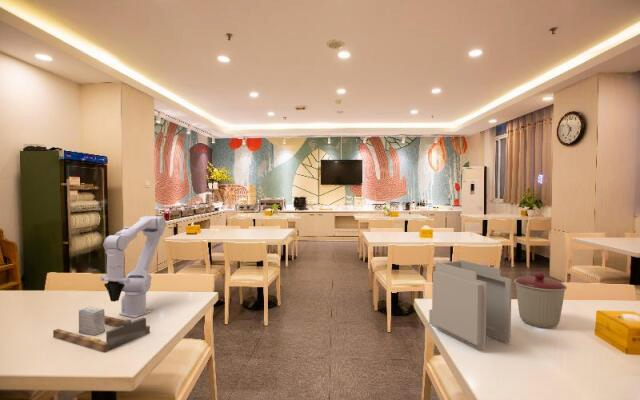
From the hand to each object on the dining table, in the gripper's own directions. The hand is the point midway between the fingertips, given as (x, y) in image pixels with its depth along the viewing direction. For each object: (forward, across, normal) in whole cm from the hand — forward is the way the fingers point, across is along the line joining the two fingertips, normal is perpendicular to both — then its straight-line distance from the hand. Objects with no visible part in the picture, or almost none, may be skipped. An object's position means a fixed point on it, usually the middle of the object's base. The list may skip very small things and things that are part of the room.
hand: (114, 300), depth 130 cm
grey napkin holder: (+10, +127, +49) cm, 136 cm away
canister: (+10, +154, +74) cm, 171 cm away
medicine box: (+10, -2, -7) cm, 13 cm away
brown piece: (+10, +4, -7) cm, 13 cm away
